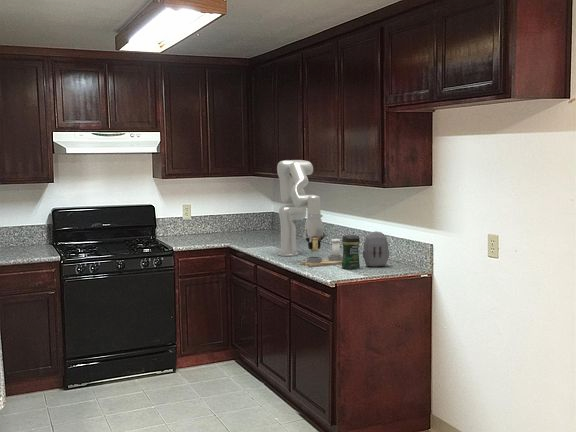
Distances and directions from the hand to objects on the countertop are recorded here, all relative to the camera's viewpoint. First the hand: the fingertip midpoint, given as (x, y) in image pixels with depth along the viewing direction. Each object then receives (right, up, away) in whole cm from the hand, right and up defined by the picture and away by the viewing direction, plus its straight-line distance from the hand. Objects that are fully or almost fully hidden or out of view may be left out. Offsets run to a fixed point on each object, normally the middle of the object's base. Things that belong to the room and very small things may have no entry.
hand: (314, 248), depth 372 cm
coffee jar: (+20, -11, -12) cm, 25 cm away
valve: (0, -2, 0) cm, 2 cm away
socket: (0, -8, +1) cm, 8 cm away
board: (+6, -9, +4) cm, 11 cm away
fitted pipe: (+13, -7, +7) cm, 16 cm away
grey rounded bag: (+34, -10, -8) cm, 37 cm away
